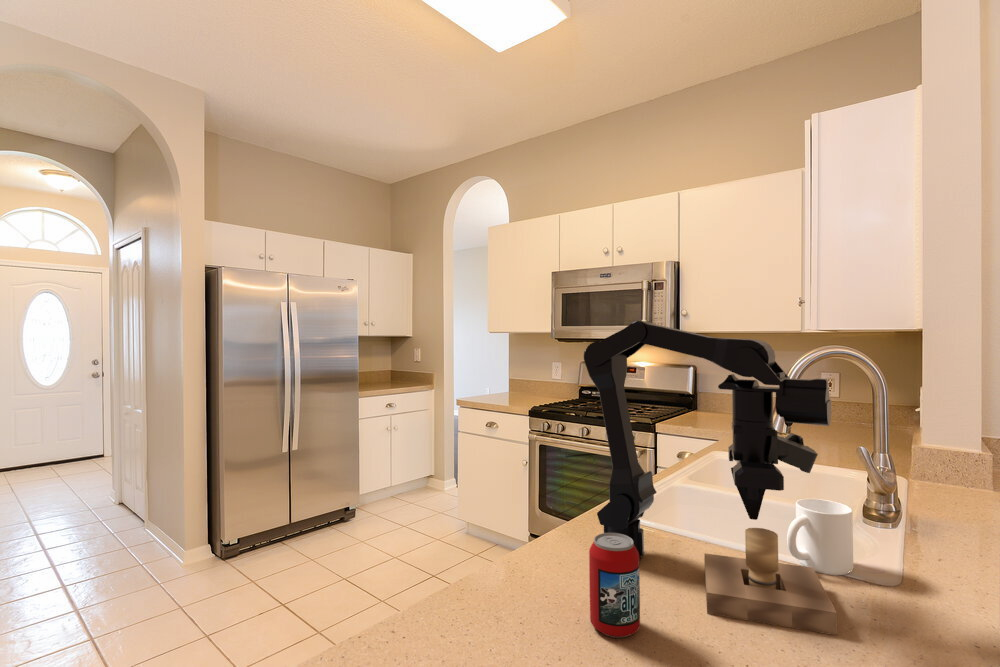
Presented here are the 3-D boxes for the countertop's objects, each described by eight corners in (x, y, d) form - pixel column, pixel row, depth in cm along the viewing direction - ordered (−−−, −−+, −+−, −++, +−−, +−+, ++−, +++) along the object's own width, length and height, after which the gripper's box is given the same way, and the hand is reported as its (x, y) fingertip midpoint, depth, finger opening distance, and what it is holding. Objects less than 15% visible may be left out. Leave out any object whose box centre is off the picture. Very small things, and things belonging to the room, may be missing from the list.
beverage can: (611, 647, 65) (610, 554, 65) (580, 621, 71) (579, 536, 71) (651, 633, 68) (649, 543, 68) (617, 609, 74) (616, 527, 74)
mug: (809, 583, 81) (808, 519, 81) (768, 561, 89) (767, 503, 89) (865, 572, 84) (864, 511, 84) (821, 552, 92) (820, 496, 92)
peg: (748, 603, 75) (746, 536, 75) (745, 589, 79) (743, 526, 79) (781, 609, 73) (780, 540, 73) (776, 594, 77) (775, 529, 78)
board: (707, 613, 72) (706, 592, 72) (704, 570, 86) (704, 553, 86) (837, 635, 67) (836, 612, 67) (813, 586, 80) (812, 567, 80)
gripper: (826, 433, 67) (827, 550, 67) (800, 413, 84) (801, 506, 84) (734, 428, 71) (735, 538, 71) (727, 410, 89) (728, 498, 89)
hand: (753, 518), depth 79 cm, fingers closed
